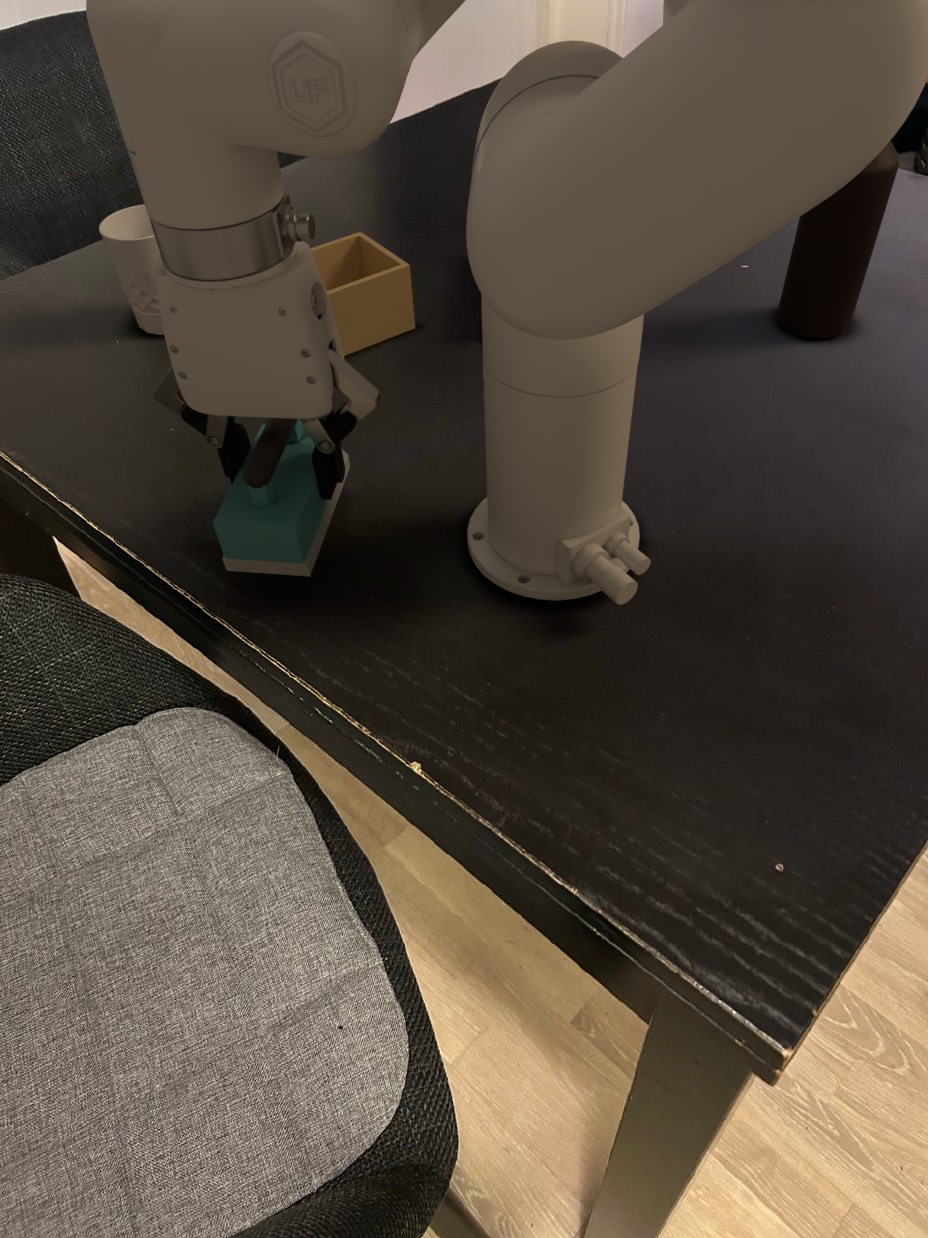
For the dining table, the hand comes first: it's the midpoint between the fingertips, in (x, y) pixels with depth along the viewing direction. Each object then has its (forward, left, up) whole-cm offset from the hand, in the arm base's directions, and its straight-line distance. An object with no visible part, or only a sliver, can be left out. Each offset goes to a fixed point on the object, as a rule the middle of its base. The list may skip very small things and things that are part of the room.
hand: (288, 483), depth 63 cm
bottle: (-3, -54, -6) cm, 54 cm away
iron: (+1, 0, -2) cm, 3 cm away
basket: (+25, -17, -5) cm, 31 cm away
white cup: (+38, -5, -6) cm, 39 cm away
